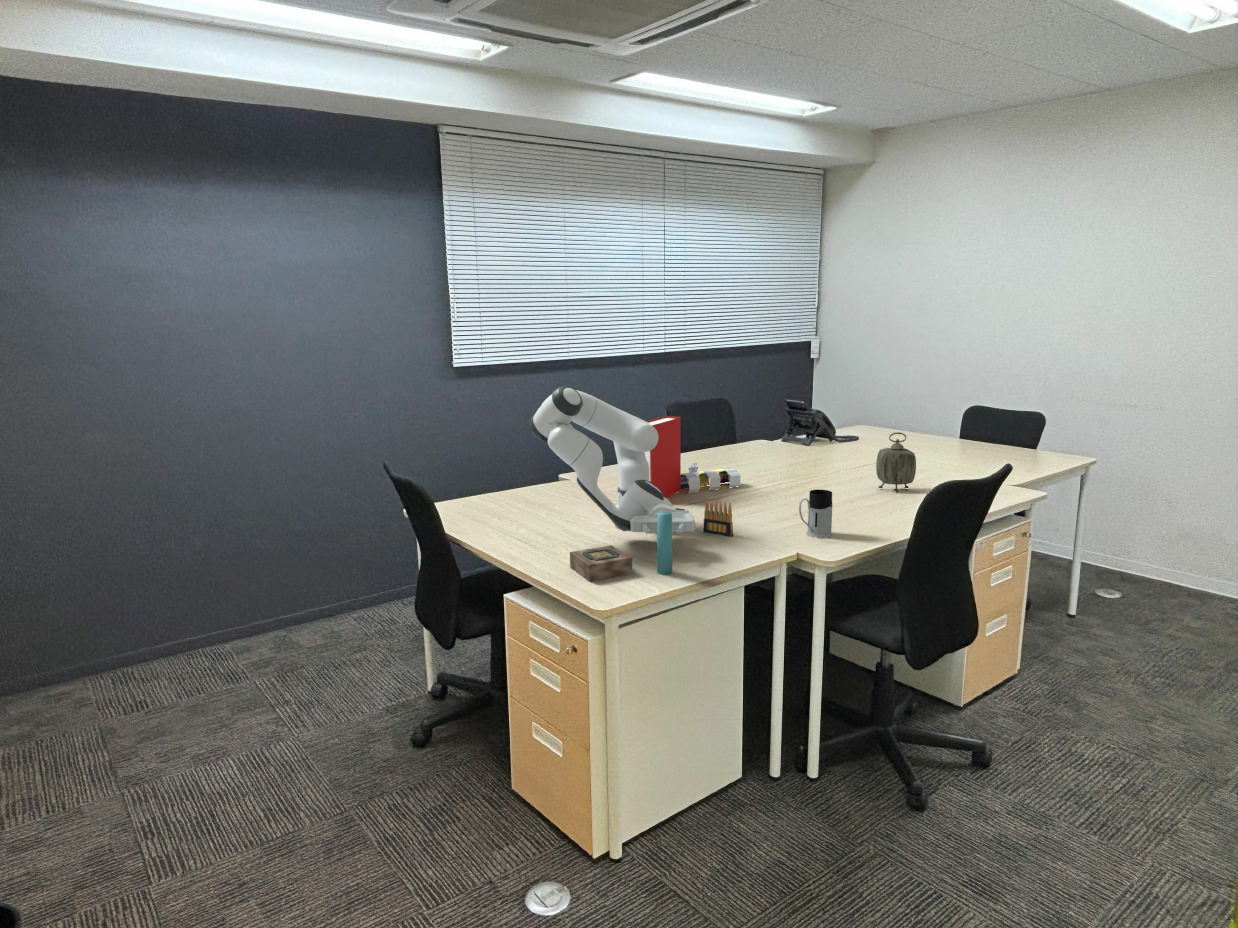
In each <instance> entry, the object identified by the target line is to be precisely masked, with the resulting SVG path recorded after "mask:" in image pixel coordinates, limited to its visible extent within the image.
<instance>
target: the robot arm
mask: <svg viewBox="0 0 1238 928" xmlns="http://www.w3.org/2000/svg"><path fill="white" fill-rule="evenodd" d="M646 421H647V420H645V419H644V420H643V419H641V418H640V417H638V416H635V415H633V414H630V413H629V412H626V411H625V410H622V409H619V408H617V407H615V406H614V405H611V404H609V403H608V402H606V401H603V400H601V399H599V398H597V397H596V396H593V395H591V394H588V393H586V392H584V391H581V390H577V389H575V388H573V387H572V386H567V385H563V386H562V385H561V386H560V387H558V388H556V389H554V391H553V392H552V394H550V395H549V396H548V397H547V398H546V399H545V400H544V401H543V402H542V403H541V405H540V406H539V408H538V409H537V411H536V412H535V413H534V414H533V415H532V416H531V418H530V421H529V429H530V431H531V433H532V435H533V436H534V437H535V438H537V439H538V440H540V441H541V442H544V443H546V444H547V445H548V447H549V449H550V450H551V451H553V453H555V455H556V456H557V457H558V458H559V459H560V460H561V461H563V462H564V463H565V464H567V465H568V466H569V467H571V468H572V469H573V471H574V472H575V473H576V482H577V484H578V486H579V487H580V488H581V490H582V491H583V492H584V493H585V494H586V495H587V496H588V498H590V499H591V500H592V501H593V503H594V504H595V505H597V507H598V508H599V509H600V510H601V511H602V512H603V513H604V514H605V515H606V516H607V517H608V518H609V519H610V521H611V522H612V523H613V524H614V526H615V527H616V528H617V529H619V530H620V531H623V532H629V531H630V532H633V533H645V534H651V533H657V513H658V512H671V513H672V533H676V534H682V533H684V532H685V533H686V532H687V533H689V532H690V533H691V532H695V531H696V530H695V529H696V520H695V518H694V516H693V515H692V514H691V513H690V512H689V510H688V509H686V508H680V507H674V506H673V504H672V502H671V501H670V500H669V499H668V498H665V497H664V496H663V493H662V491H661V490H660V489H659V488H658V487H657V486H656V485H654V484H653V483H651V482H650V481H649V464H648V462H647V460H646V457H645V453H644V452H648V451H651V450H652V449H653V448H654V447H655V446H656V445H657V442H658V433H657V430H656V429H655V428H654V427H653V426H652V425H651V424H649V423H648V422H646ZM571 422H573V423H575V424H577V425H578V426H581V427H583V428H585V429H586V430H589V431H590V432H593V433H594V434H597V435H599V436H601V437H603V438H605V439H608V440H610V441H612V442H613V445H614V451H615V457H616V460H617V467H618V471H617V472H618V487H617V502H616V503H614V502H612V501H611V499H609V497H608V496H606V494H605V493H604V492H603V491H602V490H601V489H600V488H599V486H598V479H599V477H600V473H601V471H602V467H603V461H604V455H603V451H602V449H601V447H600V446H599V444H597V443H596V442H595V441H594V440H593V439H591V438H590V437H588V436H587V435H586V434H584V433H582V432H581V431H579V430H577V429H576V428H574V427H573V425H572V423H571Z"/></svg>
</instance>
